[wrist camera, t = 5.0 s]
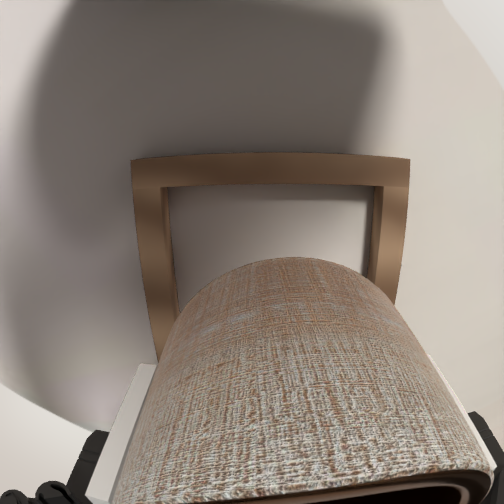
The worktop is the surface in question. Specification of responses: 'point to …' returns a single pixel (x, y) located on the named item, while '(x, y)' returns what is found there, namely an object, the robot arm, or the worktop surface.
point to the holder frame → (261, 172)
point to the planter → (299, 400)
